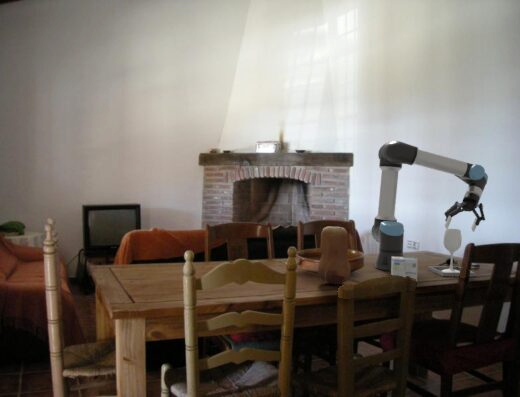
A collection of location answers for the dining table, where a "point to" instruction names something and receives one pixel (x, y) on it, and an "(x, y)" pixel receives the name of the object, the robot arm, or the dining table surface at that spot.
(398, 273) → the light bulb box
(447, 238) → the wineglass
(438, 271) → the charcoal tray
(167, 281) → the dining table surface
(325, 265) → the butternut squash
